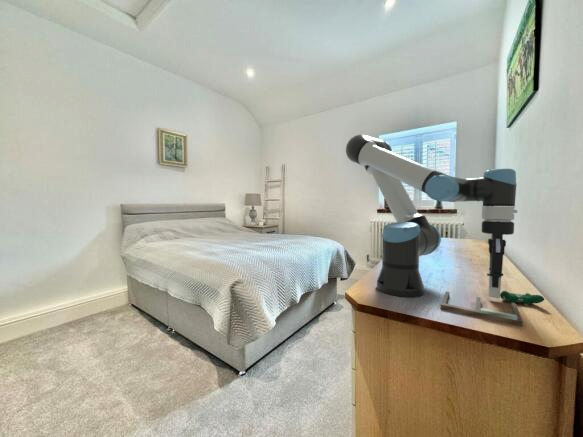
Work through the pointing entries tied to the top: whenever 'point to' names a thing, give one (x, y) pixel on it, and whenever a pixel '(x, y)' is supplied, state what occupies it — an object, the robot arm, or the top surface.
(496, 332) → the top surface
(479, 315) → the letter e shape
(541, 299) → the gaming controller
